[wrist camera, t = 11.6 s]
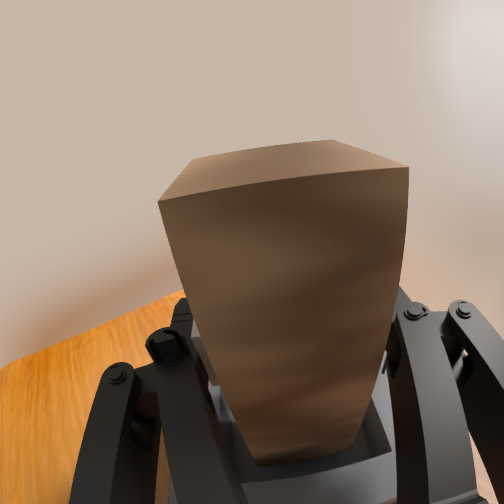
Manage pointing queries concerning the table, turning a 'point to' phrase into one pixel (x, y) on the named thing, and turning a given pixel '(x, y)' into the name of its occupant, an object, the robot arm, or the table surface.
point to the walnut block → (291, 285)
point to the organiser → (320, 462)
